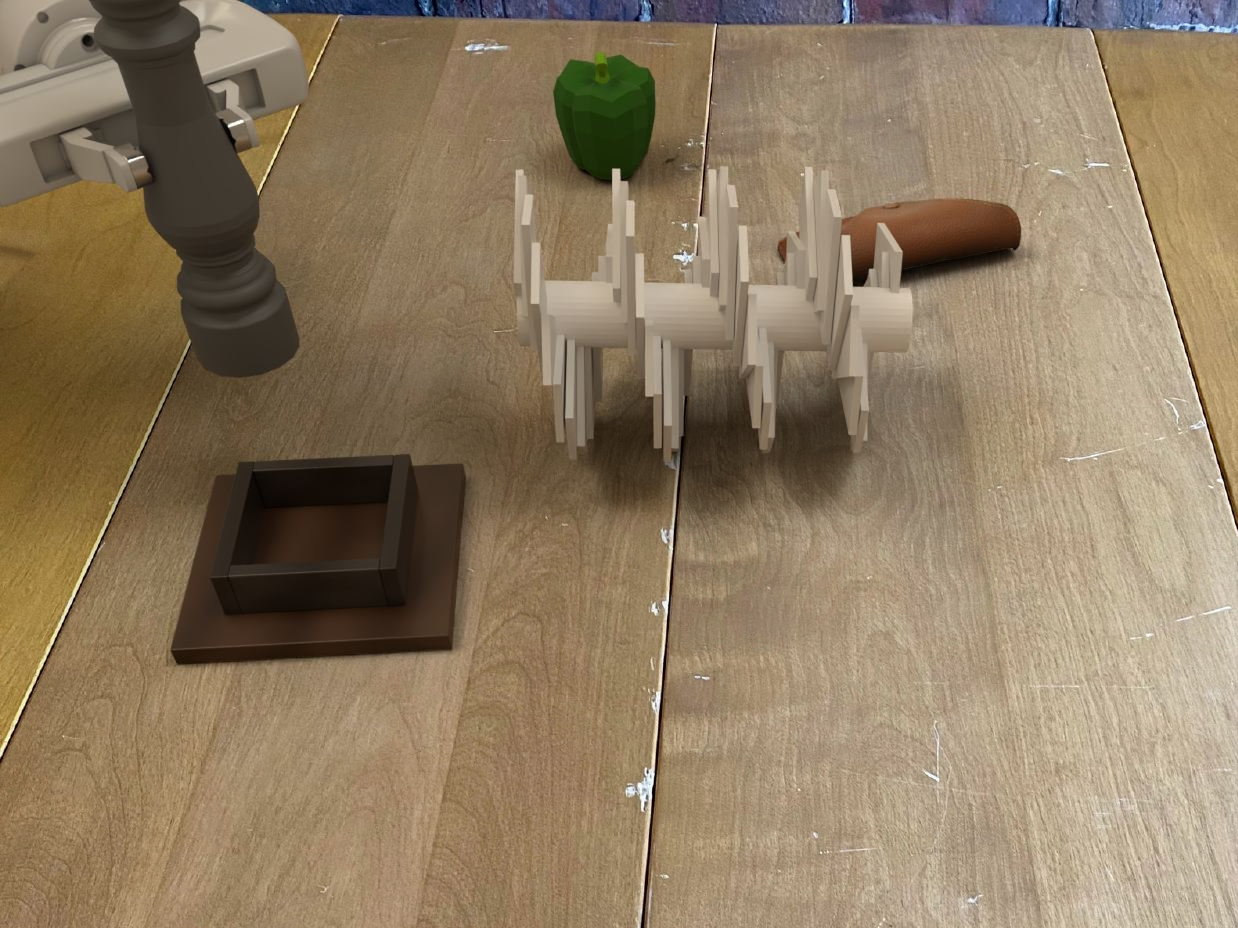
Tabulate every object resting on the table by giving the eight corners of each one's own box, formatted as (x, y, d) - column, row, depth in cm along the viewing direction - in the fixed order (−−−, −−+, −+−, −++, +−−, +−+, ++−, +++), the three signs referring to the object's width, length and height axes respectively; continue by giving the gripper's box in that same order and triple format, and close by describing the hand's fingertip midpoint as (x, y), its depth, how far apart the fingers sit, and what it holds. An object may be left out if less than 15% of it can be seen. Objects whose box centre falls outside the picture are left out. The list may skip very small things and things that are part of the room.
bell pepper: (580, 136, 123) (569, 17, 115) (669, 149, 121) (664, 29, 114) (545, 182, 117) (531, 61, 110) (638, 197, 116) (630, 74, 108)
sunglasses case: (971, 200, 115) (1000, 151, 109) (999, 277, 114) (1031, 233, 108) (768, 242, 111) (786, 194, 104) (797, 323, 110) (816, 279, 103)
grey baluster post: (266, 386, 83) (120, -75, 64) (176, 366, 84) (7, -92, 65) (319, 330, 87) (196, -122, 68) (232, 311, 88) (87, -137, 69)
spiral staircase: (891, 507, 97) (528, 505, 95) (879, 283, 101) (532, 276, 99) (944, 372, 79) (500, 365, 77) (927, 107, 84) (506, 94, 82)
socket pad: (176, 664, 82) (152, 612, 78) (220, 488, 92) (201, 436, 89) (452, 649, 82) (440, 597, 79) (466, 477, 93) (455, 425, 89)
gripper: (-125, 65, 75) (-21, 161, 69) (221, -36, 84) (342, 41, 77) (-72, 178, 80) (30, 277, 74) (249, 71, 89) (366, 152, 82)
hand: (193, 155), depth 76 cm, fingers closed on grey baluster post, 5 cm apart
